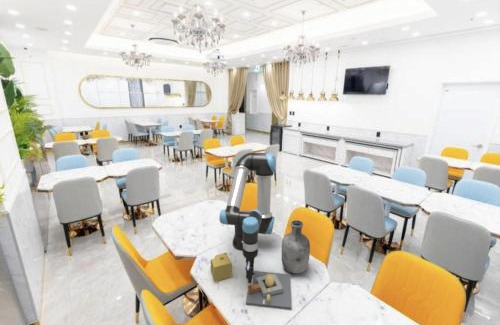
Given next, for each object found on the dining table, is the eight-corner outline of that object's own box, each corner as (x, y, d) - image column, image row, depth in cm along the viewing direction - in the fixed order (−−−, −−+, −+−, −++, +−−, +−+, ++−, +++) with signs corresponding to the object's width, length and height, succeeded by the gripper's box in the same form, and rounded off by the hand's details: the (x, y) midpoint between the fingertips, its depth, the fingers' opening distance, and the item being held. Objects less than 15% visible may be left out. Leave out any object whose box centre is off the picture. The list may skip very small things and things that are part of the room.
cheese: (210, 270, 137) (209, 255, 135) (228, 265, 141) (227, 251, 138) (214, 283, 128) (213, 267, 125) (233, 277, 132) (232, 262, 129)
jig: (251, 272, 135) (251, 261, 133) (289, 276, 132) (290, 264, 130) (245, 304, 114) (245, 291, 112) (291, 309, 111) (291, 296, 109)
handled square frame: (275, 277, 129) (275, 273, 129) (283, 292, 119) (283, 288, 118) (245, 284, 124) (245, 280, 124) (251, 300, 114) (251, 296, 114)
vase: (275, 267, 139) (276, 222, 131) (292, 255, 149) (294, 213, 141) (296, 282, 128) (299, 234, 120) (313, 269, 137) (317, 223, 130)
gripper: (245, 239, 122) (245, 275, 129) (240, 255, 110) (240, 294, 117) (259, 240, 121) (258, 277, 127) (255, 257, 109) (255, 297, 115)
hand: (250, 285), depth 122 cm, fingers closed
